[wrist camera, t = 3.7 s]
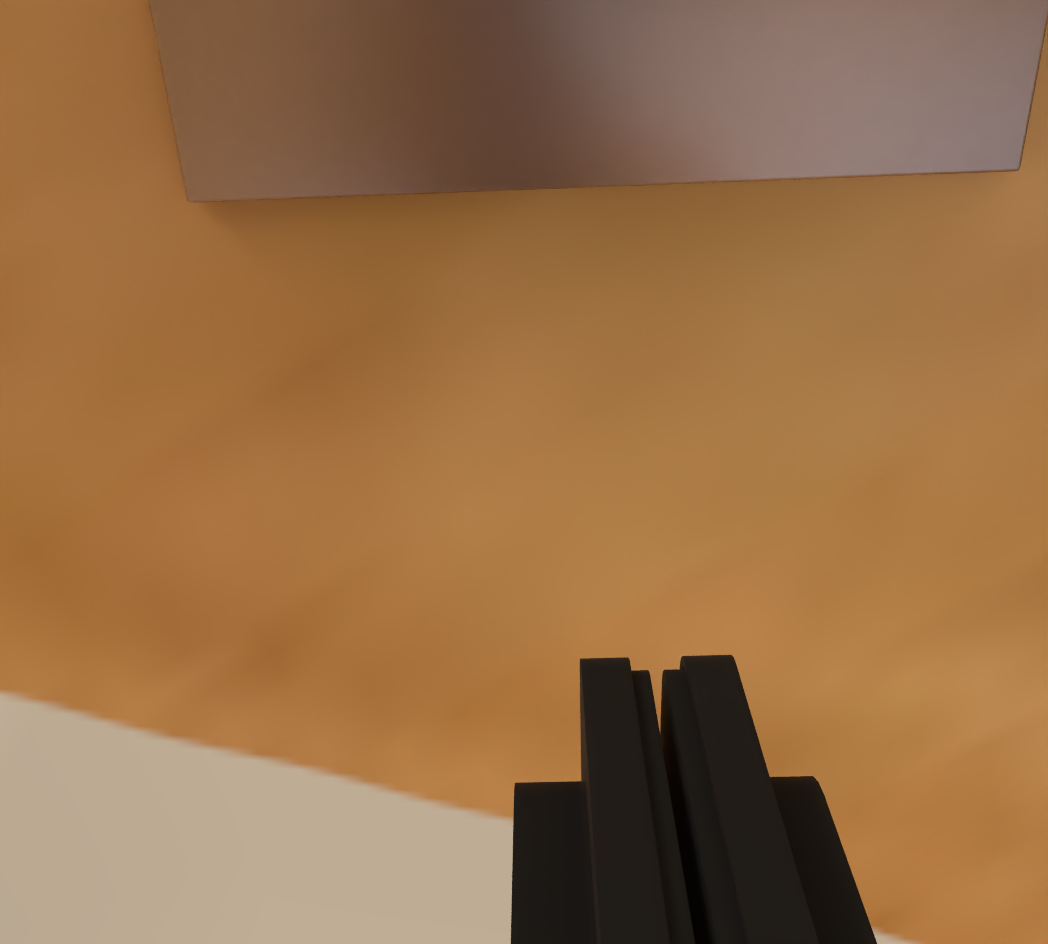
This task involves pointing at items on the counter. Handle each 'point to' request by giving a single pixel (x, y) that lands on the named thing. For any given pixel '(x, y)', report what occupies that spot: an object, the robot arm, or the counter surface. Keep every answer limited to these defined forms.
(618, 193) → the counter surface
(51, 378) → the counter surface
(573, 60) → the placemat
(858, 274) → the counter surface
